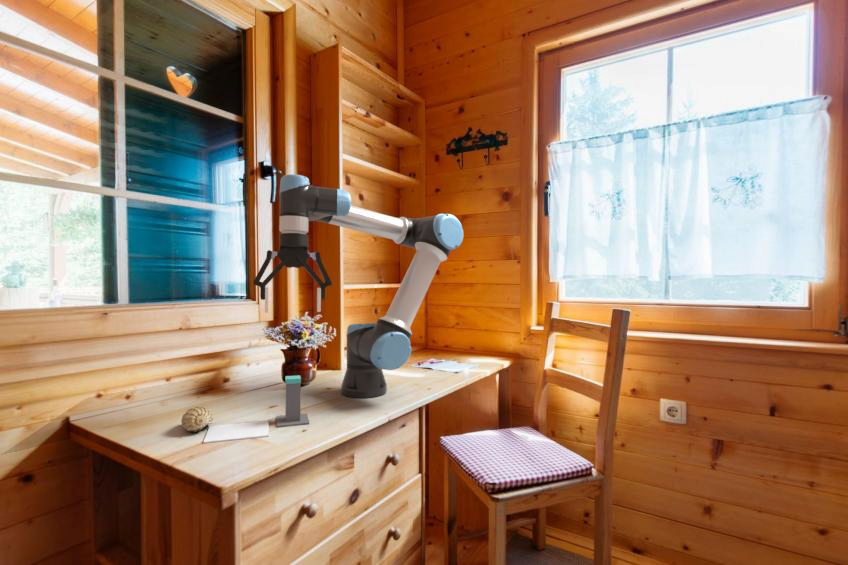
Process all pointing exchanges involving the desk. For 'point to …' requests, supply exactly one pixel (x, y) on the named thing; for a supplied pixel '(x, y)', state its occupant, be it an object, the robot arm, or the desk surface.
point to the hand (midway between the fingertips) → (293, 311)
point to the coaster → (282, 422)
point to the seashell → (196, 419)
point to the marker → (292, 398)
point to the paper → (237, 431)
